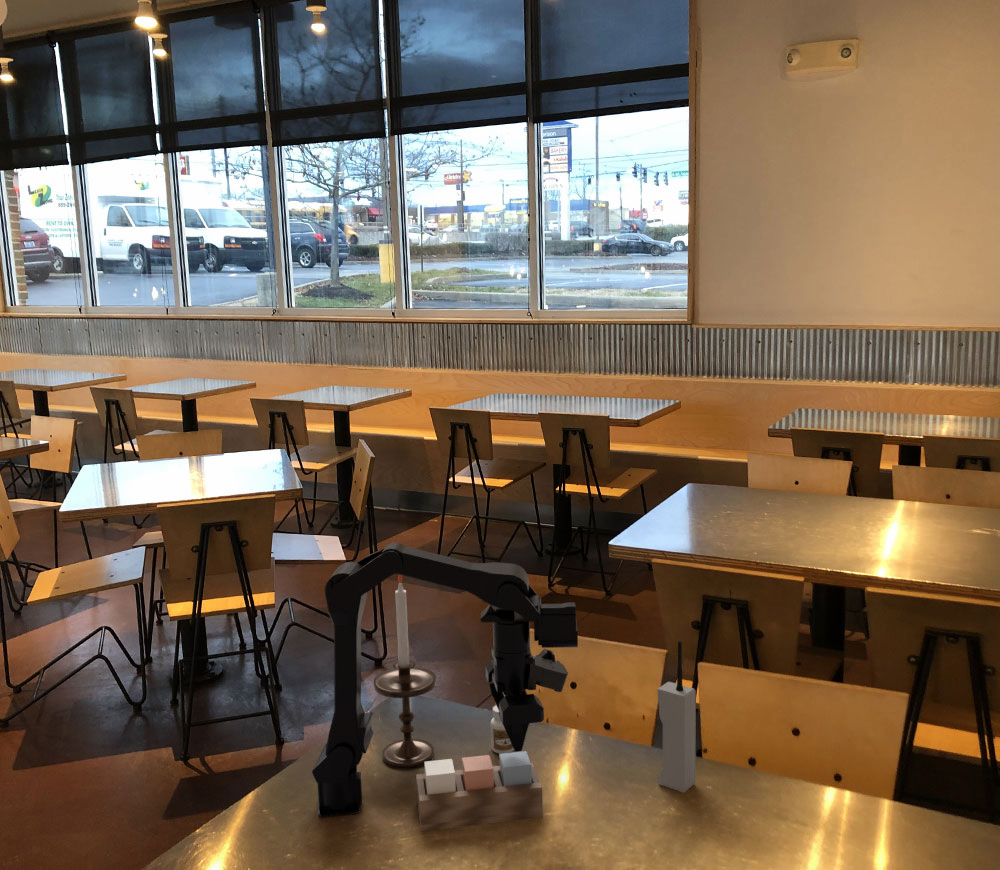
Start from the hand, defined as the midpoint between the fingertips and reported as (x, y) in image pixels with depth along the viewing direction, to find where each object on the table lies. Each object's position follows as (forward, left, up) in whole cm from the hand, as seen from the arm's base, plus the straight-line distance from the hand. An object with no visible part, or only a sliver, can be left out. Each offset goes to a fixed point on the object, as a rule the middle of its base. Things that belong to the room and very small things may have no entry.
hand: (514, 740), depth 148 cm
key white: (-12, 0, -7) cm, 14 cm away
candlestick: (-16, +20, -11) cm, 28 cm away
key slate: (0, 0, -7) cm, 7 cm away
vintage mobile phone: (+27, +1, -11) cm, 29 cm away
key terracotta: (-6, 0, -7) cm, 9 cm away
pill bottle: (+1, +19, -11) cm, 22 cm away
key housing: (-6, 0, -11) cm, 13 cm away
